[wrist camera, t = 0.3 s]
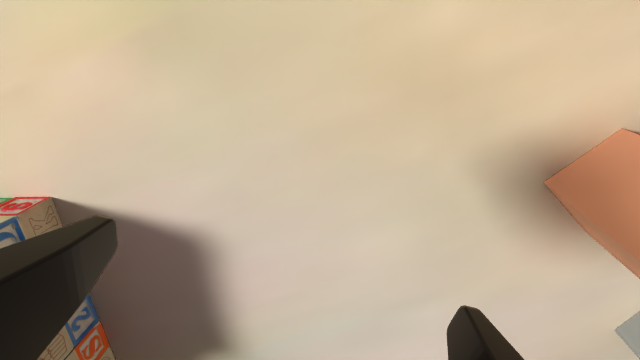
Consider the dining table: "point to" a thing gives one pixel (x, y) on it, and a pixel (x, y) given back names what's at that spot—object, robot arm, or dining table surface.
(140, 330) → the dining table surface
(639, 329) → the slate grey block
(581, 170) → the terracotta block
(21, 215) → the stack of blocks
